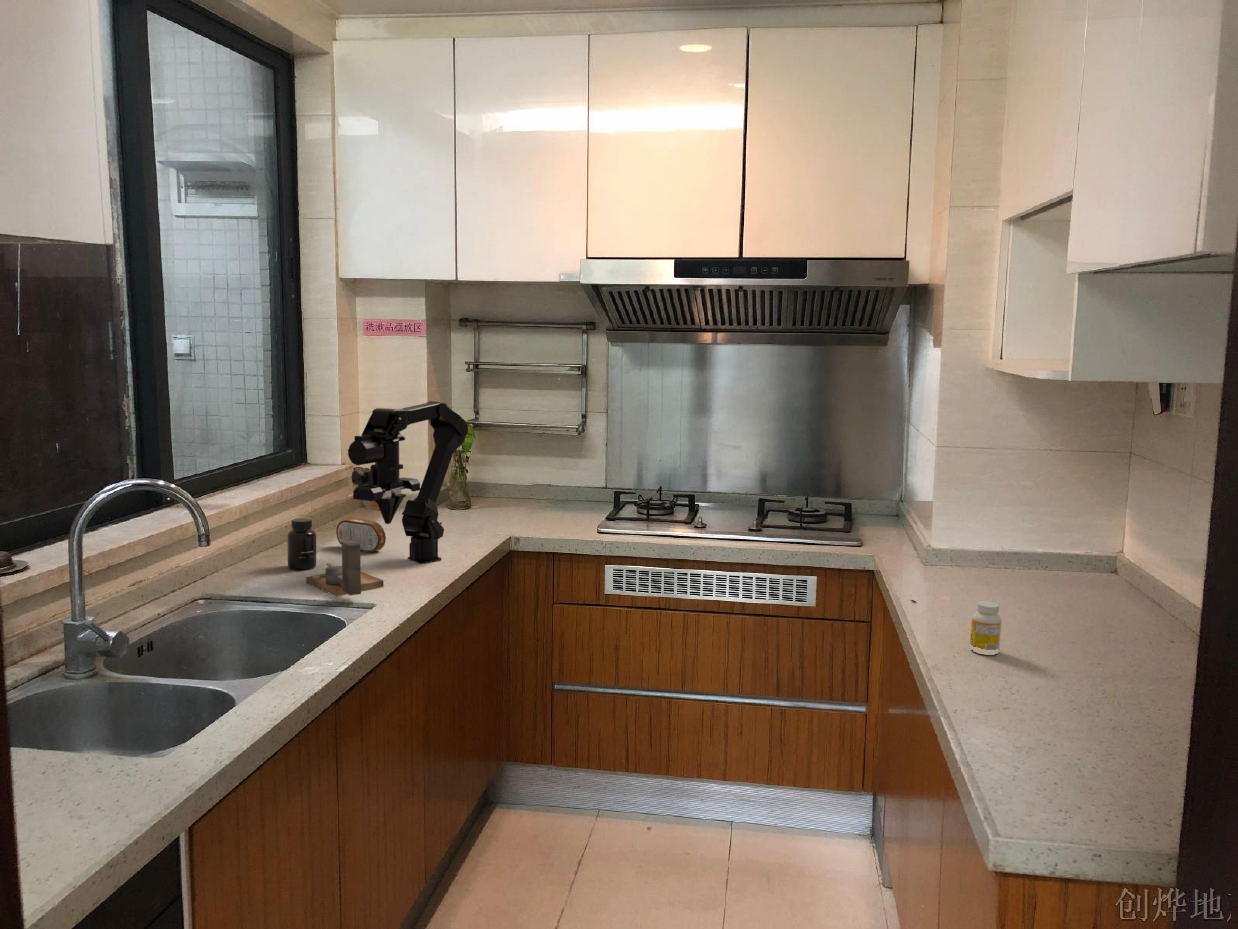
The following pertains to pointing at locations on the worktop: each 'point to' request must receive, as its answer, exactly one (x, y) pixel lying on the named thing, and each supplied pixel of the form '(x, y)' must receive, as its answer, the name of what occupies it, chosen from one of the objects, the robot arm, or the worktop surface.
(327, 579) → the upright block on board
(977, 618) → the supplement bottle
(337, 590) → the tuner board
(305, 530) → the supplement bottle
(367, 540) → the tin
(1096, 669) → the worktop surface
